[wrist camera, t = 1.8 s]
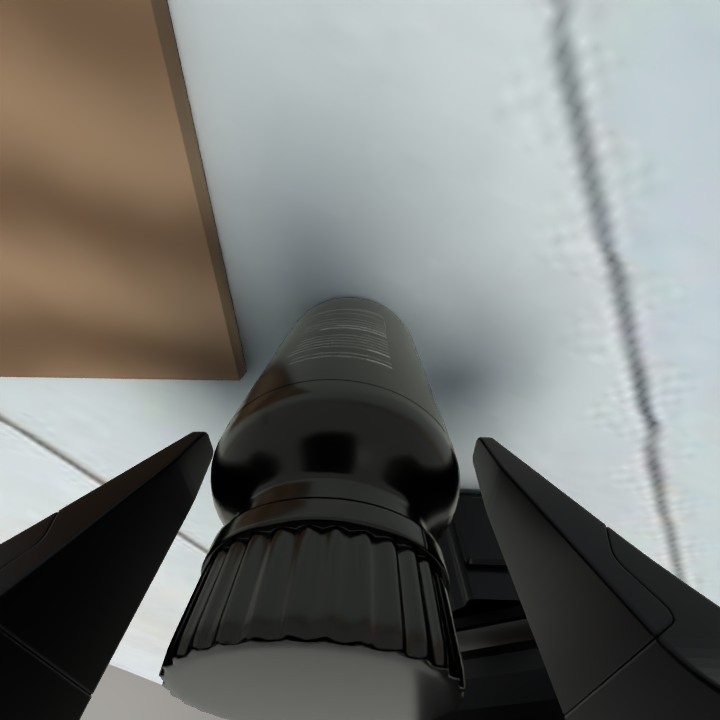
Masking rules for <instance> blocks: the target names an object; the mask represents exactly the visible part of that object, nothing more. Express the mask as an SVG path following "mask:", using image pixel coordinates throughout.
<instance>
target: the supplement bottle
mask: <svg viewBox="0 0 720 720" xmlns="http://www.w3.org/2000/svg"><path fill="white" fill-rule="evenodd" d="M211 490H212V497H213V501H214V505H215V508H216V511H217V513H218V516H219V518H220V520H221V522H222V523H223V525H224V526H223V527H222V528H221V530H220V531H219V532H218V534H217V535H216V537H215V539H214V541H213V543H212V545H211V547H210V549H209V551H208V553H207V555H206V558H205V560H204V562H203V565H202V569H201V577H200V579H199V581H198V583H197V585H196V588H195V590H194V592H193V594H192V596H191V598H190V601H189V603H188V605H187V607H186V609H185V612H184V614H183V616H182V618H181V620H180V622H179V625H178V627H177V629H176V631H175V633H174V636H173V638H172V640H171V642H170V645H169V647H168V650H167V653H166V656H165V659H164V661H163V664H162V667H161V671H160V674H159V676H160V677H161V679H162V680H163V684H162V686H164V687H165V688H166V689H168V690H170V693H171V695H172V696H174V697H176V698H179V699H180V700H182V702H184V703H185V704H187V705H190V706H192V707H195V708H197V709H198V710H200V711H203V712H206V713H209V714H213V715H215V716H218V717H221V718H224V719H229V720H434V719H435V718H438V717H441V716H444V715H447V714H448V713H449V711H451V710H453V709H455V708H457V707H458V706H459V702H460V701H462V700H463V699H464V698H465V692H464V690H465V688H466V686H465V673H464V667H463V662H462V657H461V652H460V648H459V643H458V639H457V634H456V629H455V625H454V620H453V616H452V611H451V607H450V602H449V598H448V595H449V591H450V581H449V575H448V571H447V568H446V564H445V560H444V556H443V553H442V550H441V548H440V546H439V544H438V543H437V542H438V541H439V540H440V539H441V537H442V536H443V535H444V533H445V532H446V530H447V529H448V527H449V525H450V523H451V521H452V518H453V516H454V514H455V511H456V507H457V503H458V499H459V492H460V471H459V466H458V462H457V458H456V455H455V452H454V449H453V446H452V443H451V441H450V438H449V435H448V433H447V430H446V428H445V425H444V422H443V420H442V417H441V414H440V412H439V409H438V407H437V404H436V401H435V399H434V396H433V393H432V391H431V388H430V385H429V383H428V380H427V378H426V375H425V372H424V370H423V367H422V364H421V362H420V359H419V357H418V354H417V351H416V349H415V346H414V343H413V341H412V338H411V336H410V334H409V332H408V330H407V329H406V327H405V326H404V324H403V323H402V322H401V320H400V319H399V318H398V317H397V316H396V315H395V314H393V313H392V312H391V311H390V310H388V309H387V308H385V307H383V306H381V305H379V304H377V303H375V302H372V301H369V300H365V299H360V298H337V299H332V300H329V301H326V302H323V303H321V304H319V305H317V306H315V307H313V308H312V309H310V310H309V311H308V312H306V313H305V314H304V315H303V316H302V317H301V318H300V319H299V320H298V321H297V323H296V324H295V325H294V327H293V328H292V329H291V331H290V332H289V334H288V335H287V337H286V338H285V340H284V341H283V343H282V344H281V346H280V347H279V349H278V350H277V352H276V353H275V355H274V356H273V358H272V359H271V361H270V362H269V364H268V365H267V367H266V368H265V370H264V371H263V373H262V374H261V376H260V377H259V379H258V380H257V382H256V383H255V385H254V386H253V388H252V389H251V391H250V392H249V394H248V395H247V397H246V398H245V400H244V401H243V403H242V404H241V406H240V407H239V409H238V411H237V412H236V414H235V415H234V417H233V418H232V420H231V421H230V423H229V424H228V426H227V428H226V430H225V432H224V433H223V435H222V437H221V439H220V441H219V442H218V445H217V447H216V450H215V453H214V456H213V461H212V467H211Z"/></svg>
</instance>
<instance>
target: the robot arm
mask: <svg viewBox="0 0 720 720" xmlns="http://www.w3.org/2000/svg"><path fill="white" fill-rule="evenodd" d="M212 457H213V448H212V445H211V442H210V439H209V436H208V434H207V433H206V432H192V433H190V434H188V435H187V436H185V437H183V438H182V439H180V440H178V441H177V442H175V443H173V444H171V445H170V446H168V447H166V448H165V449H163V450H161V451H159V452H158V453H156V454H154V455H153V456H151V457H149V458H148V459H146V460H144V461H142V462H141V463H139V464H137V465H136V466H134V467H132V468H131V469H129V470H127V471H125V472H124V473H122V474H120V475H119V476H117V477H115V478H113V479H112V480H110V481H108V482H107V483H105V484H103V485H102V486H100V487H98V488H96V489H95V490H93V491H91V492H90V493H88V494H86V495H85V496H83V497H81V498H79V499H78V500H76V501H74V502H73V503H71V504H69V505H67V506H66V507H64V508H62V509H61V510H59V512H56V513H54V514H52V515H50V516H49V517H47V518H45V519H44V520H42V521H40V522H38V523H37V524H35V525H33V526H32V527H30V528H28V529H26V530H25V531H23V532H21V533H19V534H18V535H16V536H14V537H12V538H11V539H9V540H7V541H5V542H3V543H2V544H0V720H80V718H81V716H82V714H83V712H84V710H85V708H86V706H87V704H88V702H89V701H90V699H91V694H93V692H94V691H95V689H96V687H97V685H98V683H99V681H100V679H101V677H102V675H103V674H104V672H105V670H106V668H107V666H108V664H109V662H110V660H111V658H112V656H113V655H114V653H115V651H116V649H117V647H118V645H119V643H120V641H121V639H122V638H123V636H124V634H125V632H126V630H127V628H128V626H129V624H130V622H131V620H132V619H133V617H134V615H135V613H136V611H137V609H138V607H139V605H140V603H141V601H142V600H143V598H144V596H145V594H146V592H147V590H148V588H149V586H150V584H151V583H152V581H153V579H154V577H155V575H156V573H157V571H158V569H159V567H160V565H161V564H162V562H163V560H164V558H165V556H166V554H167V552H168V550H169V548H170V546H171V545H172V543H173V541H174V539H175V537H176V535H177V533H178V531H179V529H180V527H181V526H182V524H183V522H184V520H185V518H186V516H187V514H188V512H189V510H190V508H191V506H192V504H193V502H194V500H195V498H196V496H197V494H198V491H199V489H200V486H201V484H202V481H203V479H204V476H205V474H206V472H207V469H208V467H209V464H210V462H211V459H212ZM473 464H474V468H475V471H476V475H477V479H478V483H479V487H480V490H481V494H482V495H478V494H459V499H458V503H457V507H456V511H455V514H454V516H453V518H452V521H451V523H450V525H449V527H448V529H447V530H446V532H445V533H444V535H443V536H442V537H441V539H440V540H439V541H438V542H437V543H438V544H439V546H440V548H441V550H442V553H443V556H444V560H445V564H446V568H447V571H448V575H449V581H450V591H449V595H448V598H449V602H450V607H451V611H452V616H453V620H454V625H455V629H456V634H457V639H458V643H459V648H460V652H461V657H462V662H463V667H464V673H465V686H466V688H465V690H464V692H465V698H464V699H463V700H462V701H460V702H459V706H458V707H457V708H455V709H453V710H451V711H449V713H448V714H447V715H444V716H441V717H438V718H435V719H434V720H720V607H719V606H718V605H716V604H715V603H713V602H712V601H710V600H709V599H708V598H706V597H705V596H703V595H702V594H700V593H699V592H697V591H696V590H694V589H693V588H692V587H690V586H689V585H687V584H686V583H684V582H683V581H681V580H680V579H679V578H677V577H676V576H674V575H673V574H672V573H670V572H669V571H667V570H666V569H664V568H663V567H662V566H660V565H659V564H657V563H656V562H655V561H653V560H652V559H650V558H649V557H648V556H646V555H645V554H644V553H642V552H641V551H640V550H638V549H637V548H636V547H634V546H633V545H632V544H630V543H629V542H628V541H626V540H625V539H624V538H622V537H621V536H620V535H618V534H617V533H616V532H614V531H613V530H612V529H610V528H609V527H606V525H605V524H604V523H603V522H601V521H600V520H599V519H597V518H596V517H595V516H593V515H592V514H591V513H589V512H588V511H587V510H586V509H584V508H583V507H582V506H580V505H579V504H578V503H576V502H575V501H574V500H572V499H571V498H570V497H569V496H567V495H566V494H565V493H563V492H562V491H561V490H559V489H558V488H557V487H555V486H554V485H553V484H552V483H550V482H549V481H548V480H546V479H545V478H544V477H542V476H541V475H540V474H539V473H537V472H536V471H535V470H533V469H532V468H531V467H529V466H528V465H527V464H525V463H524V462H523V461H522V460H520V459H519V458H518V457H516V456H515V455H514V454H512V453H511V452H510V451H508V450H507V449H506V448H505V447H503V446H502V445H501V444H499V443H498V442H497V441H495V440H494V439H493V438H490V437H479V438H478V439H477V441H476V445H475V449H474V453H473Z"/></svg>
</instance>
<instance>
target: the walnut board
mask: <svg viewBox="0 0 720 720" xmlns="http://www.w3.org/2000/svg"><path fill="white" fill-rule="evenodd" d="M246 372H247V370H246V366H245V361H244V356H243V352H242V347H241V342H240V338H239V333H238V328H237V324H236V319H235V315H234V310H233V305H232V301H231V296H230V291H229V287H228V282H227V277H226V273H225V268H224V264H223V259H222V254H221V250H220V245H219V240H218V236H217V231H216V226H215V222H214V217H213V213H212V208H211V203H210V199H209V194H208V189H207V185H206V180H205V175H204V171H203V166H202V162H201V157H200V152H199V148H198V143H197V138H196V134H195V129H194V124H193V120H192V115H191V110H190V106H189V101H188V97H187V92H186V87H185V83H184V78H183V73H182V69H181V64H180V59H179V55H178V50H177V46H176V41H175V36H174V32H173V27H172V22H171V18H170V13H169V8H168V4H167V0H0V377H51V378H115V379H179V380H240V379H241V378H242V377H243V375H244V374H245V373H246Z"/></svg>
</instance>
